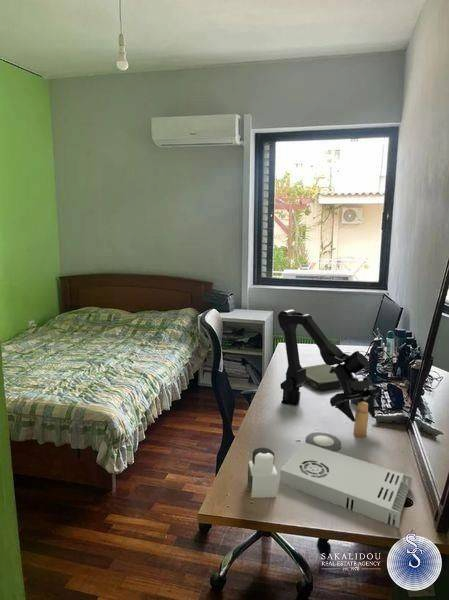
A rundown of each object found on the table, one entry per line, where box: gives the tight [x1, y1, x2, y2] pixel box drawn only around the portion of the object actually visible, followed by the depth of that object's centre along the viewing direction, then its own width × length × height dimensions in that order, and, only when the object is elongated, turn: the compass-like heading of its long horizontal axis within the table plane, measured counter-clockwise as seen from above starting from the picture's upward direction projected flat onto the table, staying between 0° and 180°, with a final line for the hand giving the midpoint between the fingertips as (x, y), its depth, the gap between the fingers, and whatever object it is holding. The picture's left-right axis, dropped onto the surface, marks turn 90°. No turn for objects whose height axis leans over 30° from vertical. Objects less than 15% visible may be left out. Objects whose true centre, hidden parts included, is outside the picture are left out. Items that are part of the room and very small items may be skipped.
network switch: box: [302, 363, 340, 392], centre depth 205 cm, size 23×24×5 cm
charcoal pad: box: [305, 431, 342, 452], centre depth 147 cm, size 12×12×1 cm
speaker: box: [350, 389, 366, 406], centre depth 180 cm, size 8×6×10 cm
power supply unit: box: [279, 442, 413, 529], centre depth 123 cm, size 19×33×5 cm, turn 58°
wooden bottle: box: [353, 401, 370, 439], centre depth 153 cm, size 4×4×12 cm
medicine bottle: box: [247, 447, 279, 499], centre depth 119 cm, size 7×7×12 cm
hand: (364, 419), depth 152 cm, fingers open, 9 cm apart
